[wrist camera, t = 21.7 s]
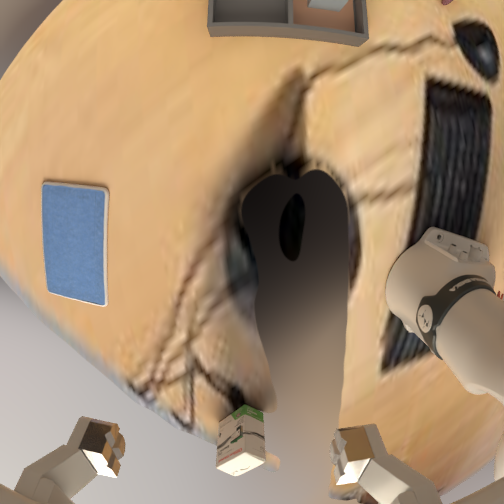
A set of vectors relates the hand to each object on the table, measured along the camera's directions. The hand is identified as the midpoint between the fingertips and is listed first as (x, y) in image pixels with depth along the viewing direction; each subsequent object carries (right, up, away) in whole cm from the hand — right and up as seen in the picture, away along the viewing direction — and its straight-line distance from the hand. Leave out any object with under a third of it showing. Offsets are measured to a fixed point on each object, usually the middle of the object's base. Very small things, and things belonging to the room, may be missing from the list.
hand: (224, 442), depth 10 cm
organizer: (+6, +42, +21) cm, 47 cm away
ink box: (-1, -26, +46) cm, 53 cm away
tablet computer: (-27, +8, +34) cm, 44 cm away
